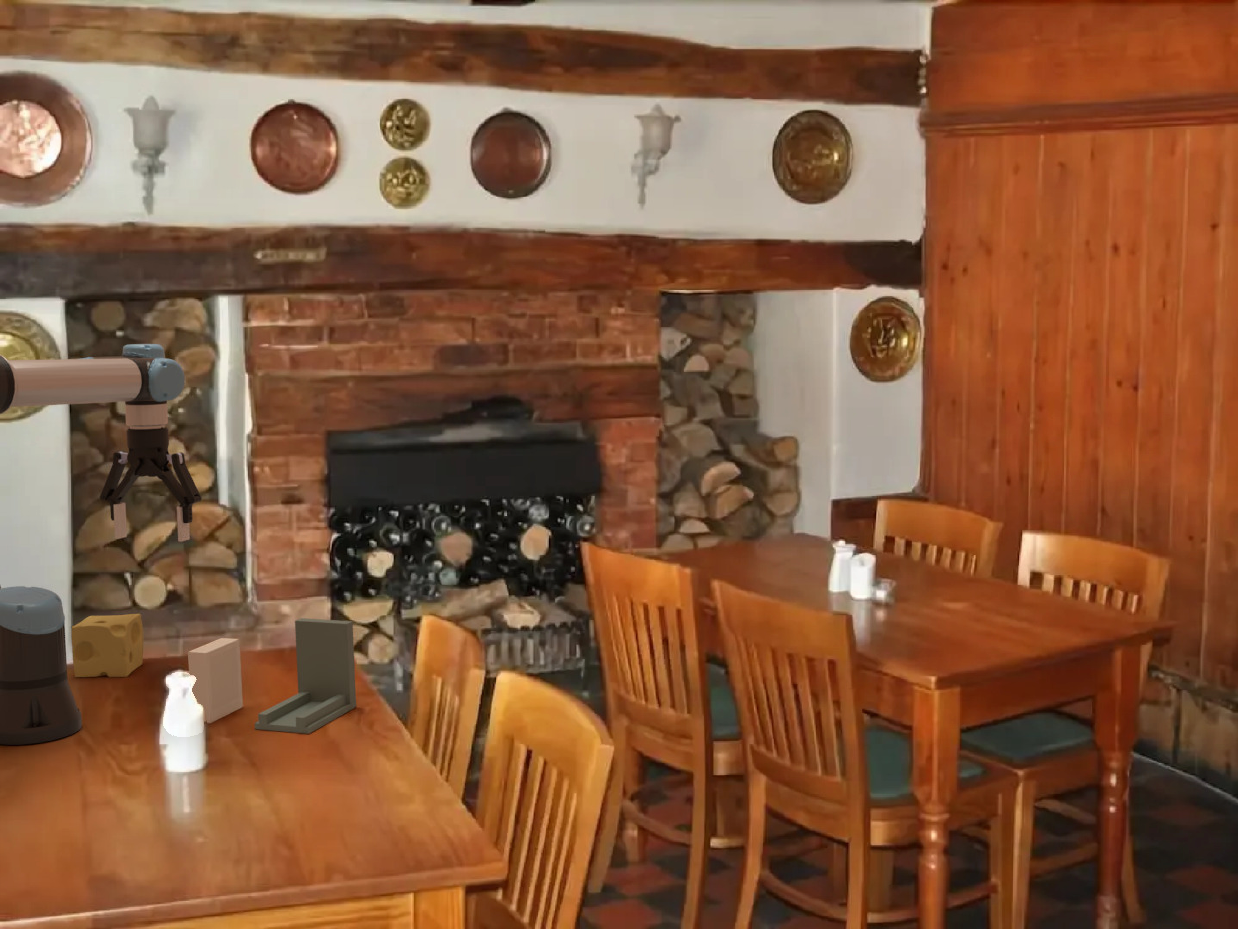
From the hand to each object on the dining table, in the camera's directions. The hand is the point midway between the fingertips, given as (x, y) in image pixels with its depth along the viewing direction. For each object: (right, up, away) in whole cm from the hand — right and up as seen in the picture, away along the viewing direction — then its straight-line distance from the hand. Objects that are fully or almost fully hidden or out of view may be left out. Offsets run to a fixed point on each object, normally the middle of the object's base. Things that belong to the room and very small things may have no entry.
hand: (152, 539), depth 291 cm
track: (+35, -28, -32) cm, 55 cm away
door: (+20, -28, -28) cm, 45 cm away
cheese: (-9, -25, +2) cm, 27 cm away
